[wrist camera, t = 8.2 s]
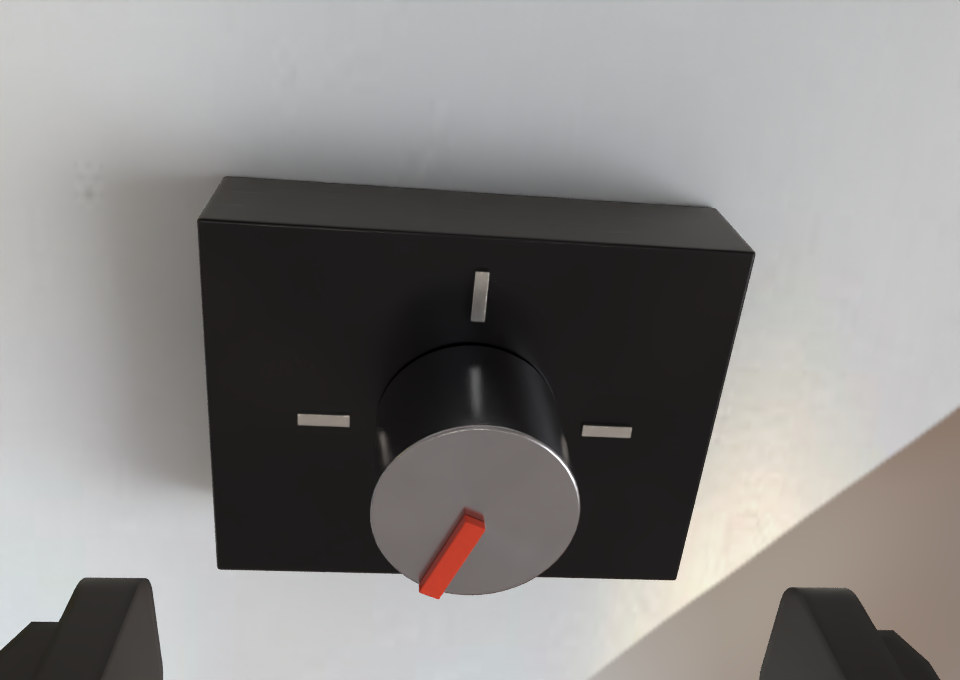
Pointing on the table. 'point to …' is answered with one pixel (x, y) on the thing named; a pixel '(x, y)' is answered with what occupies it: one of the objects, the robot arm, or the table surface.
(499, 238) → the dial base
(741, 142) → the table surface
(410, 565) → the hob knob
